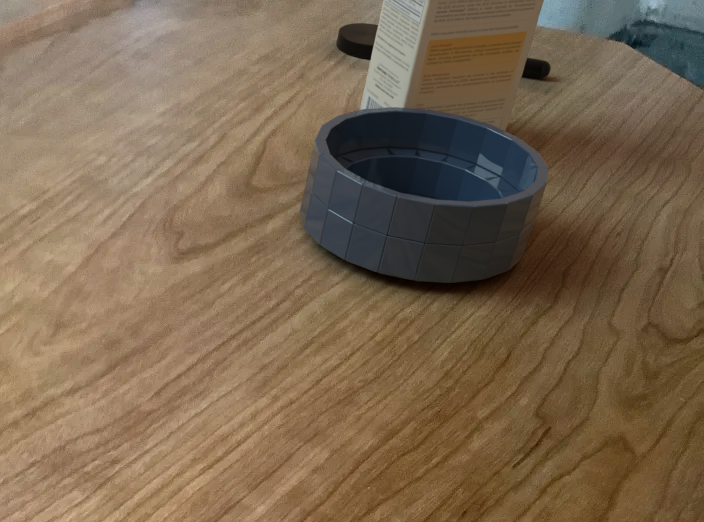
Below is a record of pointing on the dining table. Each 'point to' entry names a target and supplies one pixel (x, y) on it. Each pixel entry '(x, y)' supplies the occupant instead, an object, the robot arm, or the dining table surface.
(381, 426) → the dining table surface
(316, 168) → the bowl
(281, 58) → the dining table surface
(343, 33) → the dark round paddle
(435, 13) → the supplement box
